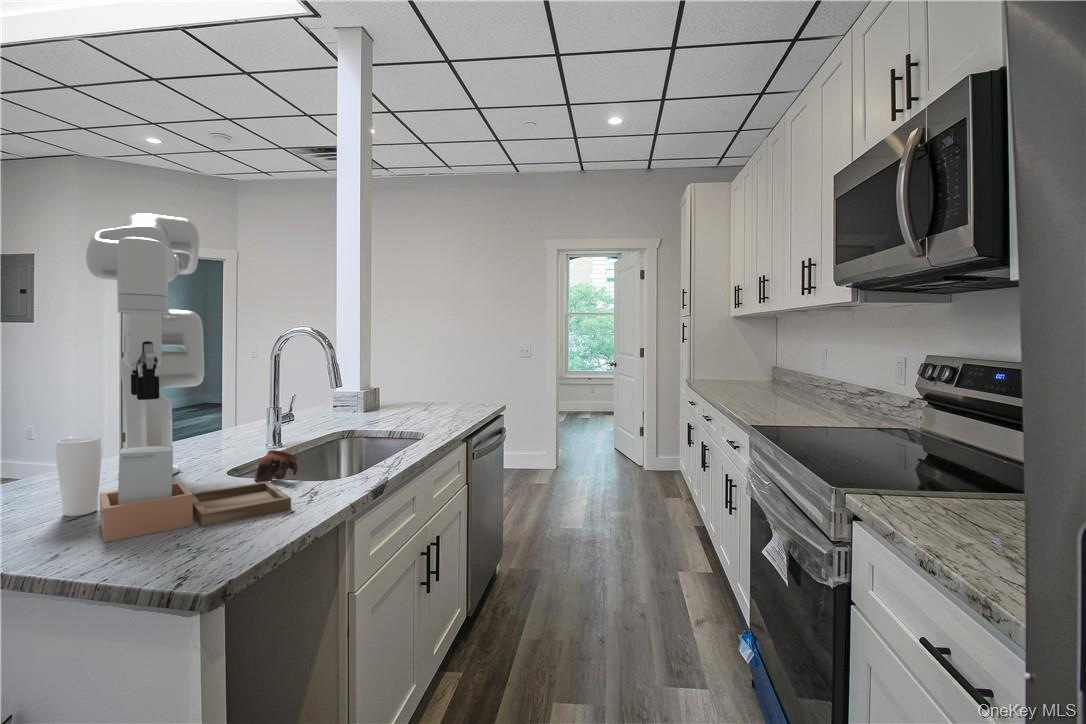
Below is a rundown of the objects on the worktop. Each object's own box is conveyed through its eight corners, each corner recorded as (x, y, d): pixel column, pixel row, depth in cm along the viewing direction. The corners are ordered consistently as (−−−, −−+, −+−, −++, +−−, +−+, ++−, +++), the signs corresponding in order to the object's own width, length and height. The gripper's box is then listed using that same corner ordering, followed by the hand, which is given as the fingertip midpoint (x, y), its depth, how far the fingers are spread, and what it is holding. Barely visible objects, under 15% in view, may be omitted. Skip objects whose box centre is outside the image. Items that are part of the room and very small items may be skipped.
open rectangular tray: (100, 524, 98) (99, 493, 98) (182, 510, 107) (182, 481, 107) (104, 542, 90) (103, 508, 90) (192, 525, 99) (192, 494, 99)
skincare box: (117, 534, 94) (115, 453, 93) (119, 524, 99) (118, 447, 98) (173, 525, 99) (172, 448, 98) (173, 516, 104) (172, 443, 103)
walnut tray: (186, 505, 110) (186, 494, 110) (268, 491, 121) (268, 481, 121) (201, 527, 98) (201, 514, 98) (291, 509, 109) (291, 498, 109)
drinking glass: (75, 520, 100) (74, 443, 99) (48, 517, 102) (46, 441, 101) (111, 509, 107) (109, 437, 106) (85, 506, 108) (83, 435, 107)
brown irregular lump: (245, 480, 131) (259, 449, 134) (282, 491, 136) (294, 461, 140) (263, 478, 123) (276, 445, 126) (301, 489, 129) (312, 457, 132)
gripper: (113, 306, 100) (115, 394, 101) (122, 302, 88) (123, 403, 88) (161, 308, 105) (162, 391, 106) (175, 305, 93) (176, 400, 94)
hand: (144, 396), depth 97 cm, fingers open, 9 cm apart
